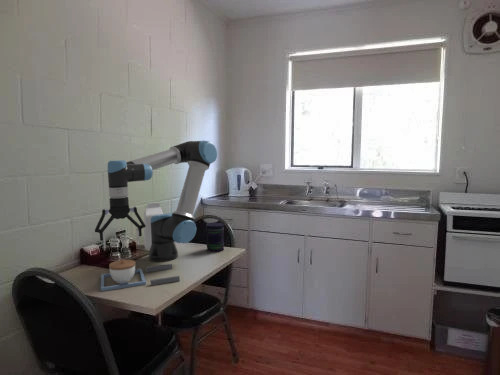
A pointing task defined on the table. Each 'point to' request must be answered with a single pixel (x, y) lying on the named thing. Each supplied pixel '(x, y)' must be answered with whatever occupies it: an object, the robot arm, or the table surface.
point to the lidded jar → (122, 270)
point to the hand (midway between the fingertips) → (121, 245)
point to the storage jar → (215, 237)
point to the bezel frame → (122, 284)
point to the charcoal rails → (162, 280)
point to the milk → (149, 212)
